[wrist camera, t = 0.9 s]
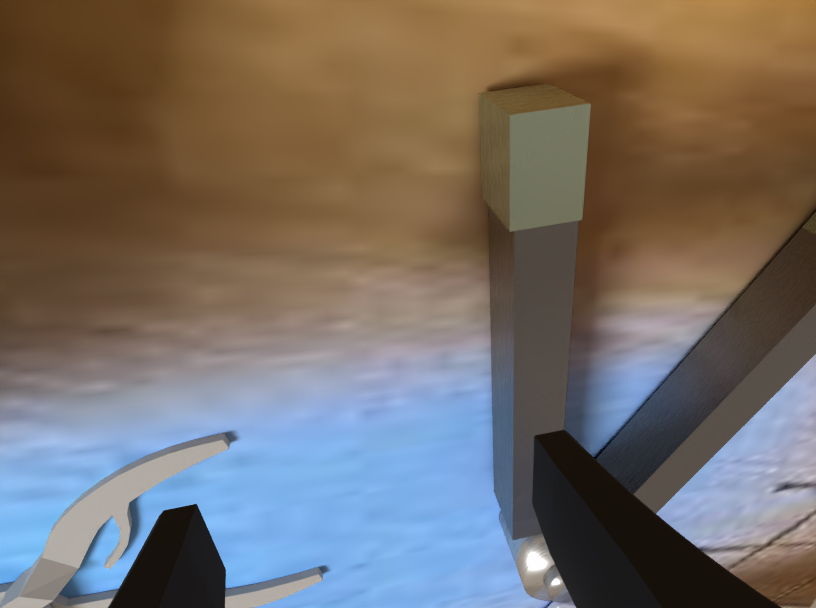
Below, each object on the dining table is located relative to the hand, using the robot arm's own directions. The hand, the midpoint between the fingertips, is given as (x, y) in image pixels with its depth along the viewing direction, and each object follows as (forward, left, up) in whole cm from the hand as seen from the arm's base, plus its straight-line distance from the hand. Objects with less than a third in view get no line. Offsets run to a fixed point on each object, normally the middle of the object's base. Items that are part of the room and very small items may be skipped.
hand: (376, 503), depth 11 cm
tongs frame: (-13, -2, -8) cm, 16 cm away
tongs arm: (-6, -1, -8) cm, 10 cm away
